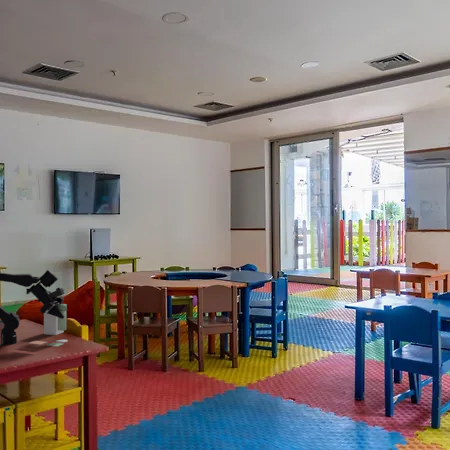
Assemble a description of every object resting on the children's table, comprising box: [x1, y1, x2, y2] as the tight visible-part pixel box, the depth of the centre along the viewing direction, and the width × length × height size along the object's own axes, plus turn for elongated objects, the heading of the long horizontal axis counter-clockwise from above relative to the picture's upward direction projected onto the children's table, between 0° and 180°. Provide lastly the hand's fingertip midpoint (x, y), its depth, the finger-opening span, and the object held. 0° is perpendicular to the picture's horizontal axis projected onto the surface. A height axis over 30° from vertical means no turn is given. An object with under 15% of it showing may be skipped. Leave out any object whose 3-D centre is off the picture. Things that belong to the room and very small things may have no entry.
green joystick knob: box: [57, 303, 68, 331], centre depth 236 cm, size 4×4×12 cm
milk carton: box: [43, 310, 65, 336], centre depth 253 cm, size 7×7×19 cm
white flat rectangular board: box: [27, 339, 68, 348], centre depth 233 cm, size 18×14×1 cm
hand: (64, 317), depth 236 cm, fingers closed on green joystick knob, 4 cm apart
